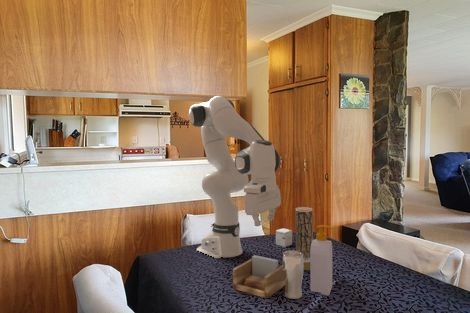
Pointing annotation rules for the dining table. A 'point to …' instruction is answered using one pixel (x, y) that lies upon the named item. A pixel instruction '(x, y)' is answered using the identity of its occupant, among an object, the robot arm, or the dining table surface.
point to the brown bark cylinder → (304, 233)
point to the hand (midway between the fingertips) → (264, 223)
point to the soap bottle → (321, 263)
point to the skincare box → (284, 237)
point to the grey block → (263, 266)
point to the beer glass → (293, 273)
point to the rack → (271, 280)
